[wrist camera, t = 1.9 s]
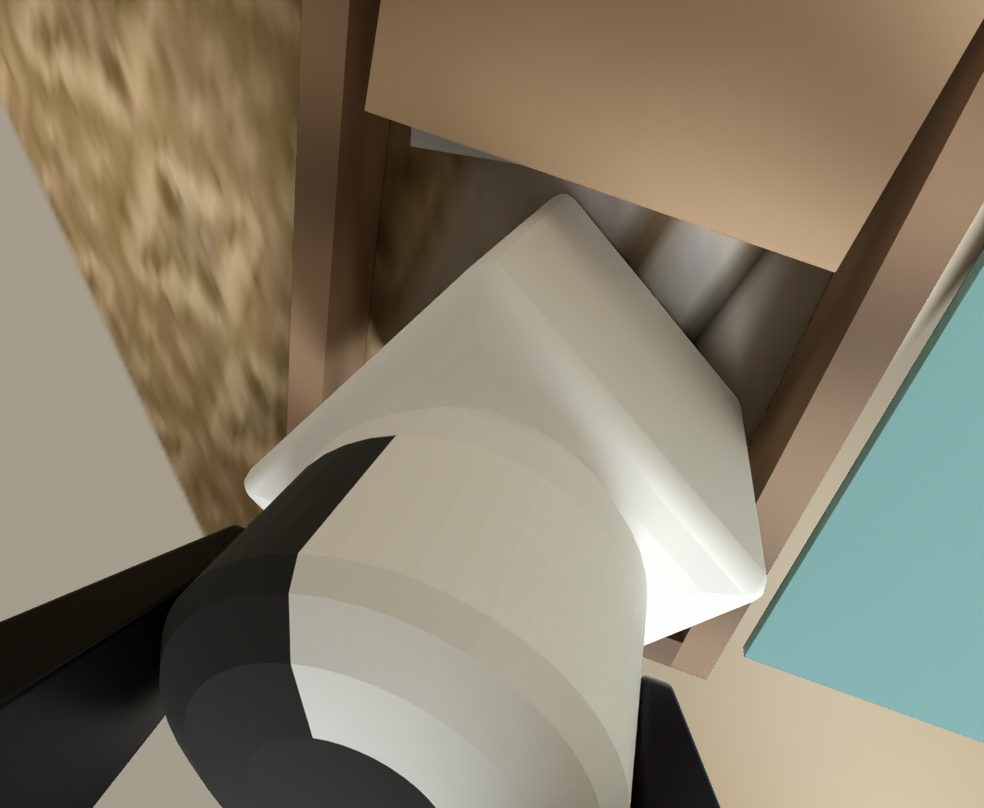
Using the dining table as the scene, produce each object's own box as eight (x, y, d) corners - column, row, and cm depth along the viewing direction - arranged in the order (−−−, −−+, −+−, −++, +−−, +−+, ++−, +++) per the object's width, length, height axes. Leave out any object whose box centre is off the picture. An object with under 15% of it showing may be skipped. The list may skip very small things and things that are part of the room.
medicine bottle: (540, 522, 20) (374, 1011, 9) (382, 352, 18) (-8, 698, 8) (745, 404, 16) (843, 976, 6) (567, 183, 15) (290, 417, 5)
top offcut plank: (820, 252, 12) (834, 272, 11) (396, 107, 13) (364, 110, 12) (1001, -73, 9) (1050, -96, 8) (453, -225, 10) (420, -267, 9)
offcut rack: (704, 613, 19) (706, 679, 17) (324, 480, 21) (283, 524, 19) (1162, -245, 10) (1295, -335, 8) (387, -352, 12) (318, -449, 9)
